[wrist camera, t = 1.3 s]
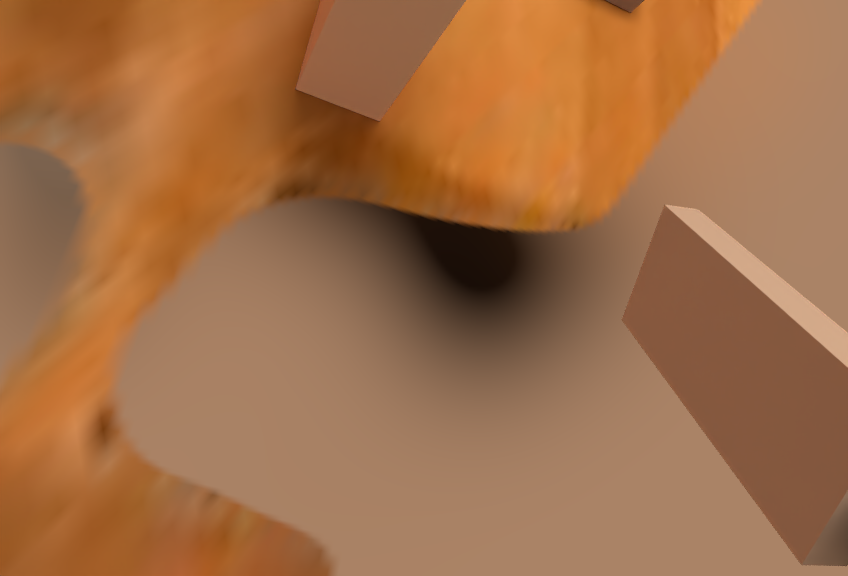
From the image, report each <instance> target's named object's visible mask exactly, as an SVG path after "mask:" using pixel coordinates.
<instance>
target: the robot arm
mask: <svg viewBox="0 0 848 576" xmlns="http://www.w3.org/2000/svg"><path fill="white" fill-rule="evenodd" d="M622 321H623V323H624V324H625V325H626V327H627V328H628V329H629V331H630V332H631V333H632V335H633V336H634V338H635V339H636V340H637V341H638V343H639V344H640V346H641V347H642V348H643V350H644V351H645V353H646V354H647V355H648V357H649V358H650V359H651V361H652V362H653V363H654V365H655V366H656V368H657V369H658V370H659V371H660V373H661V374H662V376H663V377H664V378H665V380H666V381H667V382H668V384H669V385H670V387H671V388H672V389H673V391H674V392H675V393H676V395H677V396H678V398H679V399H680V400H681V401H682V403H683V404H684V406H685V407H686V408H687V410H688V411H689V413H690V414H691V415H692V416H693V418H694V419H695V421H696V422H697V423H698V425H699V426H700V428H701V429H702V430H703V432H704V433H705V434H706V436H707V437H708V438H709V440H710V441H711V442H712V444H713V445H714V447H715V448H716V449H717V450H718V452H719V453H720V455H721V456H722V457H723V459H724V460H725V462H726V463H727V464H728V466H729V467H730V468H731V470H732V471H733V472H734V474H735V475H736V477H737V478H738V479H739V480H740V482H741V483H742V485H743V486H744V487H745V489H746V490H747V492H748V493H749V494H750V496H751V497H752V498H753V500H754V501H755V502H756V504H757V505H758V506H759V508H760V509H761V510H762V512H763V513H764V515H765V516H766V517H767V519H768V520H769V522H770V523H771V524H772V526H773V527H774V528H775V530H776V531H777V532H778V534H779V535H780V536H781V538H782V539H783V541H784V542H785V543H786V544H787V546H788V547H789V549H790V550H791V551H792V553H793V554H794V555H795V557H796V558H797V560H798V561H799V562H800V564H801V565H827V566H828V565H829V566H831V565H832V566H847V565H848V333H847V332H846V331H845V330H843V329H842V328H841V327H840V326H839V325H837V324H836V323H835V322H834V321H833V320H831V319H830V318H829V317H828V316H827V315H825V314H824V313H823V312H822V311H821V310H819V309H818V308H817V307H816V306H814V305H813V304H812V303H811V302H810V301H808V300H807V299H806V298H805V297H804V296H802V295H801V294H800V293H799V292H797V291H796V290H795V289H794V288H793V287H791V286H790V285H789V284H788V283H787V282H785V281H784V280H783V279H782V278H780V277H779V276H778V275H777V274H775V272H773V271H772V270H771V269H770V268H768V267H767V266H766V265H764V264H763V263H762V262H761V261H760V260H759V259H757V258H756V257H755V256H754V255H753V254H751V253H750V252H749V251H748V250H747V249H745V248H744V247H743V246H742V245H741V244H739V243H738V242H737V241H736V240H734V239H733V238H732V237H731V236H730V235H728V234H727V233H726V232H725V231H724V230H722V229H721V228H720V227H719V226H718V225H716V224H715V223H714V222H713V221H711V220H710V219H709V218H708V217H707V216H705V215H704V214H703V213H702V212H701V211H699V210H698V209H691V208H685V207H678V206H670V205H664V207H663V210H662V213H661V215H660V218H659V221H658V223H657V226H656V229H655V232H654V234H653V237H652V240H651V242H650V245H649V248H648V251H647V253H646V256H645V258H644V261H643V264H642V267H641V269H640V272H639V275H638V278H637V280H636V283H635V285H634V288H633V291H632V294H631V296H630V299H629V302H628V304H627V307H626V310H625V313H624V315H623V318H622Z"/></svg>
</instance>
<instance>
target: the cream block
mask: <svg viewBox="0 0 848 576" xmlns="http://www.w3.org/2000/svg"><path fill="white" fill-rule="evenodd" d="M465 1H466V0H320V3H319V7H318V10H317V14H316V17H315V21H314V25H313V28H312V32H311V35H310V39H309V42H308V46H307V49H306V53H305V56H304V60H303V64H302V67H301V71H300V74H299V78H298V81H297V85H296V88H295V89H296V90H299V91H301V92H304V93H306V94H309V95H312V96H314V97H317V98H320V99H322V100H325V101H327V102H330V103H333V104H335V105H338V106H340V107H343V108H346V109H348V110H351V111H353V112H356V113H359V114H361V115H364V116H366V117H369V118H372V119H374V120H377V121H380V120H381V119H382V117H383V116H384V115H385V113H386V112H387V110H388V109H389V108H390V106H391V105H392V103H393V102H394V101H395V99H396V98H397V96H398V95H399V94H400V92H401V91H402V89H403V88H404V87H405V85H406V84H407V82H408V81H409V80H410V78H411V77H412V75H413V74H414V73H415V71H416V70H417V68H418V67H419V66H420V64H421V63H422V61H423V60H424V59H425V57H426V56H427V54H428V53H429V52H430V50H431V49H432V47H433V46H434V45H435V43H436V42H437V40H438V39H439V37H440V36H441V35H442V33H443V32H444V30H445V29H446V28H447V26H448V25H449V23H450V22H451V21H452V19H453V18H454V16H455V15H456V14H457V12H458V11H459V9H460V8H461V7H462V5H463V4H464V2H465Z"/></svg>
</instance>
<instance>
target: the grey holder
mask: <svg viewBox="0 0 848 576" xmlns="http://www.w3.org/2000/svg"><path fill="white" fill-rule="evenodd" d="M606 1H608V2H610V3H612V4H614V5H616V6H618V7H620V8H622V9H624V10H626V11H628V12H630V13H631V12H632V11H633V10H634V9H635V8H636V7H638V6H639V5H640V4H641V3H642V2H643V1H644V0H606Z"/></svg>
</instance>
